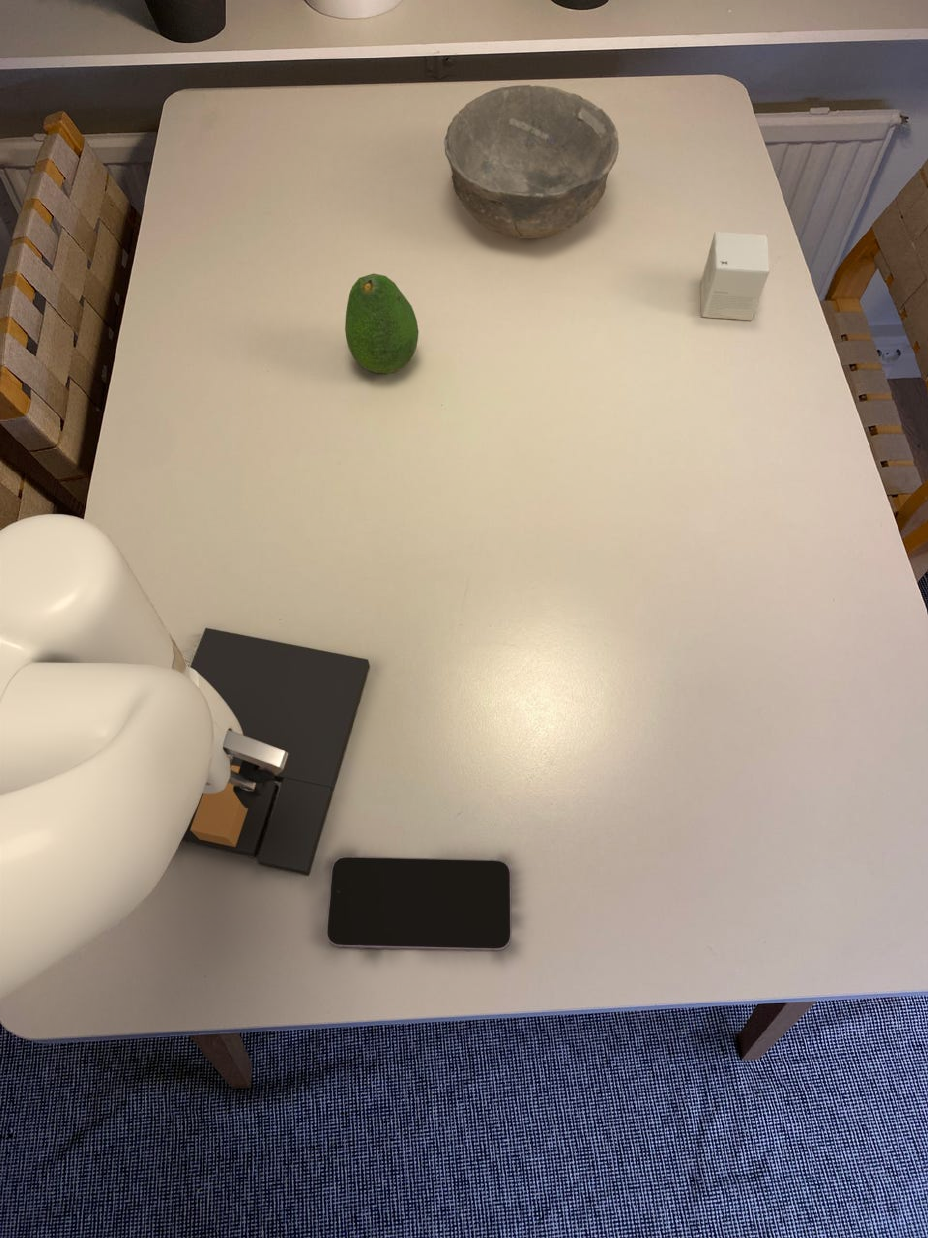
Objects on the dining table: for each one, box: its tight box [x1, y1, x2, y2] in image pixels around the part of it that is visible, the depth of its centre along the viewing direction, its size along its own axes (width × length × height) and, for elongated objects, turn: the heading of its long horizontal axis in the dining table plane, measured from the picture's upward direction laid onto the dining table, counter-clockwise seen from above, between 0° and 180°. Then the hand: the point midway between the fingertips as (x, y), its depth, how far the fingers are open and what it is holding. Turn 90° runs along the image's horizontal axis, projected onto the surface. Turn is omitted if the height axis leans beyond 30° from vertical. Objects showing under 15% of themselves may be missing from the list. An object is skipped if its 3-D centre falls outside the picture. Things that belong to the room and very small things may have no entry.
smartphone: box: [325, 855, 512, 952], centre depth 76 cm, size 7×1×15 cm
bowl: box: [443, 84, 620, 239], centre depth 112 cm, size 21×21×10 cm
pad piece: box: [182, 765, 279, 858], centre depth 78 cm, size 6×6×4 cm
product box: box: [699, 231, 771, 321], centre depth 106 cm, size 6×6×7 cm
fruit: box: [344, 272, 419, 374], centre depth 99 cm, size 8×8×12 cm
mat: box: [189, 627, 371, 876], centre depth 82 cm, size 20×16×2 cm
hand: (194, 776), depth 69 cm, fingers open, 9 cm apart
